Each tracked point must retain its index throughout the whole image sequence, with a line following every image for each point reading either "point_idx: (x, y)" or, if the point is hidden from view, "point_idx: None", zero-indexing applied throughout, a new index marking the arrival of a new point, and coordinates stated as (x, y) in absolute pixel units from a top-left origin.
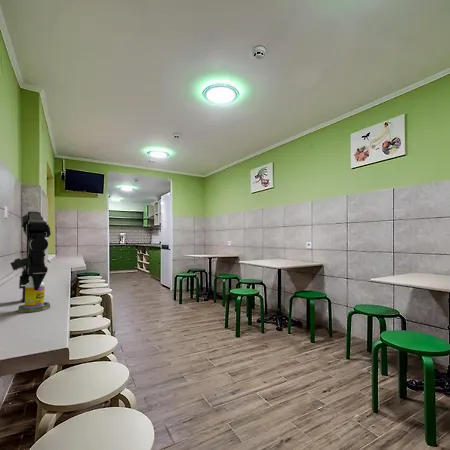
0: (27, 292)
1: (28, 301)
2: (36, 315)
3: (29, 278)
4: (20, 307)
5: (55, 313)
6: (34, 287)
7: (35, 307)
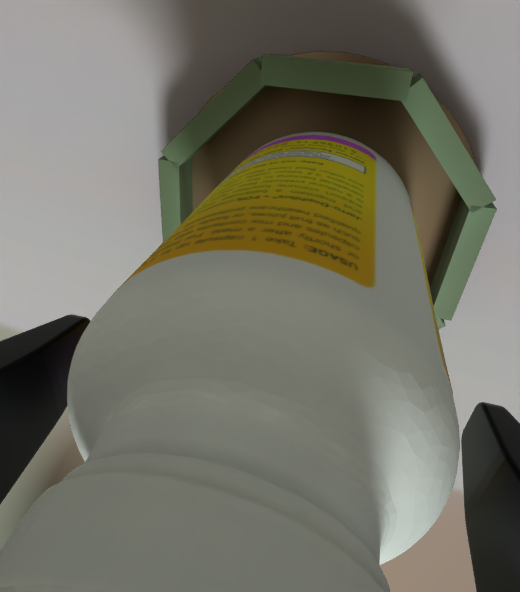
0: (189, 219)
1: (222, 182)
2: (18, 165)
3: (90, 525)
4: (266, 74)
5: (22, 283)
6: (16, 339)
7: (164, 212)
